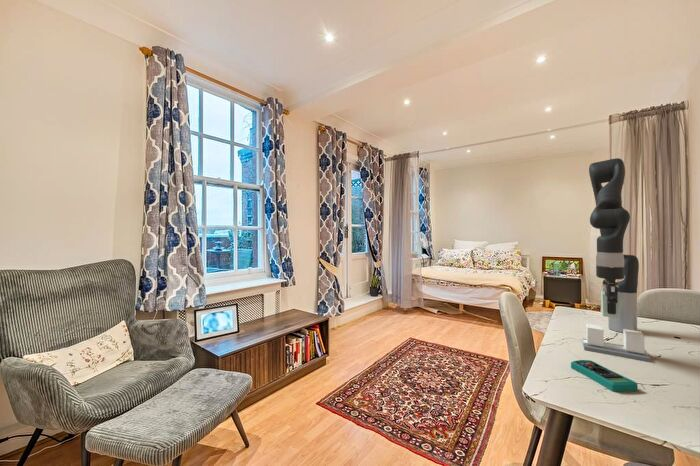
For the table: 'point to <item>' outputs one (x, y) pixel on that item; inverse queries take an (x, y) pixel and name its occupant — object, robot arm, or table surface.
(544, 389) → the table surface
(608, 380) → the digital multimeter
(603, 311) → the block
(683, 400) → the table surface
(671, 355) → the table surface
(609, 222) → the robot arm
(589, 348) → the rail panel
